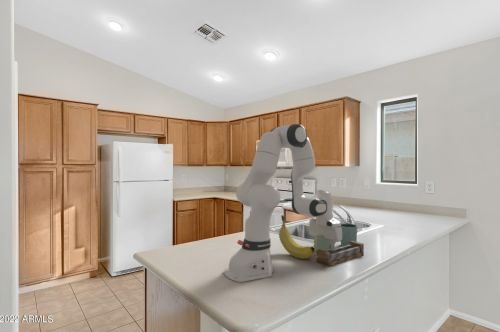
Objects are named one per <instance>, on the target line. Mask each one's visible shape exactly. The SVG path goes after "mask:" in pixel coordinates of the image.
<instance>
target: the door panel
mask: <svg viewBox="0 0 500 332" xmlns="http://www.w3.org/2000/svg"><path fill="white" fill-rule="evenodd" d="M331 244H332V243H331V240H328V239H324V236H323V235H317V236H313V248H314V254H313V256H316V257H317V250H319V249H320V250H323V251H329V250H332V249H330V248H329V245H331Z"/></svg>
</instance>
